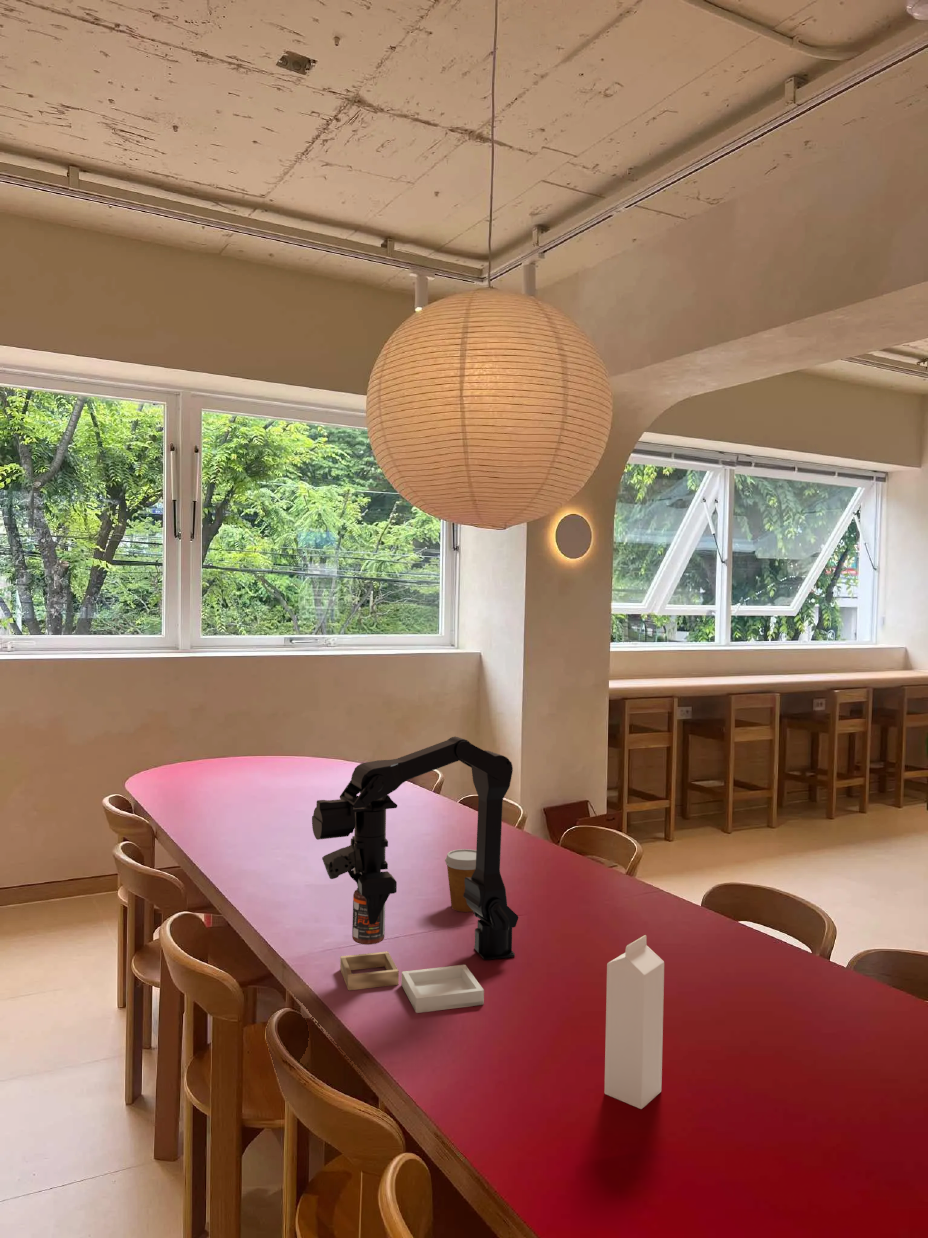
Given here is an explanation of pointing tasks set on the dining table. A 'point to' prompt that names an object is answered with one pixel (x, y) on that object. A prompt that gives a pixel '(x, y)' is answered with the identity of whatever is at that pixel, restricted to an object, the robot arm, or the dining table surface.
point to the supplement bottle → (366, 923)
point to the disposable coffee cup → (460, 876)
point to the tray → (442, 988)
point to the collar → (369, 978)
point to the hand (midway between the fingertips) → (368, 917)
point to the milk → (634, 1025)
